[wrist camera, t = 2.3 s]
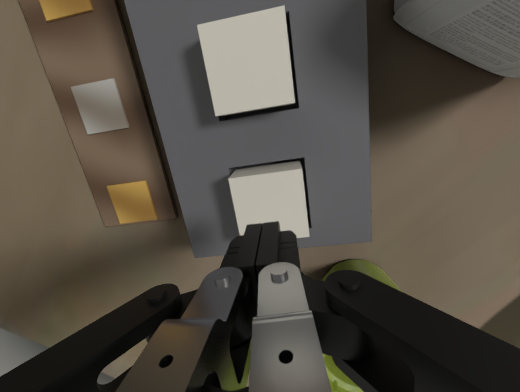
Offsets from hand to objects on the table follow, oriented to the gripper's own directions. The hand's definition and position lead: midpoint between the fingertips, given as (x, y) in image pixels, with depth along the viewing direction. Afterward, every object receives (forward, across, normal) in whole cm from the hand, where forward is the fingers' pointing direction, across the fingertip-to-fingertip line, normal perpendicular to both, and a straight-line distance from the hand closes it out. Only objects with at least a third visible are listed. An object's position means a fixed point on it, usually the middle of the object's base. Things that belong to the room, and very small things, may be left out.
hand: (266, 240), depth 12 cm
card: (+10, +12, -8) cm, 18 cm away
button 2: (+6, 0, 0) cm, 6 cm away
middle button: (+6, 0, -8) cm, 10 cm away
